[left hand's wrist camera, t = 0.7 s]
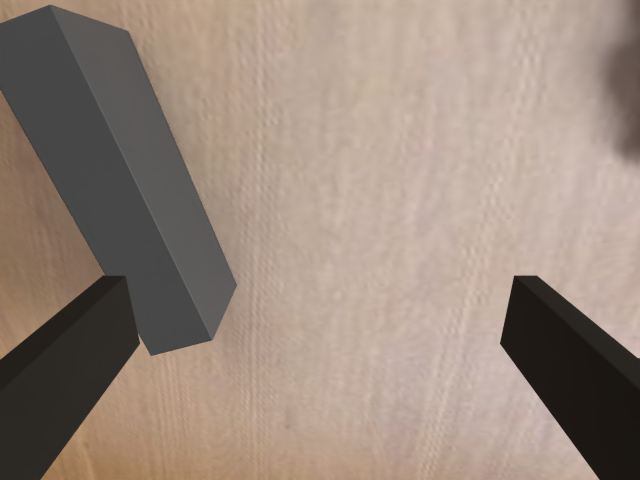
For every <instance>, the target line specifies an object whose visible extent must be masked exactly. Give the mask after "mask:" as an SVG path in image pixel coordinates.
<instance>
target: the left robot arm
mask: <svg viewBox="0 0 640 480" xmlns="http://www.w3.org/2000/svg"><path fill="white" fill-rule="evenodd" d="M139 344H140V341H139V337H138V332H137V327H136V322H135V318H134V313H133V308H132V303H131V298H130V294H129V289H128V284H127V279H126V276H102V277H101V278H100V279H98V280H97V281H96V282H95V283H94V284H92V285H91V286H90V287H89V288H87V289H86V290H85V291H84V292H83V293H81V294H80V295H79V296H78V297H76V298H75V299H74V300H73V301H72V302H70V303H69V304H68V305H67V306H65V307H64V308H63V309H62V310H61V311H59V312H58V313H57V314H56V315H54V316H53V317H52V318H51V319H50V320H48V321H47V322H46V323H45V324H43V325H42V326H41V327H40V328H39V329H37V330H36V331H35V332H34V333H33V334H31V335H30V336H29V337H28V338H26V339H25V340H24V341H23V342H22V343H20V344H19V345H18V346H17V347H15V348H14V349H13V350H12V351H11V352H9V353H8V354H7V355H6V356H4V357H3V358H2V359H1V360H0V480H40V479H41V478H42V477H43V475H44V474H45V473H46V471H47V470H48V469H49V467H50V466H51V464H52V463H53V462H54V460H55V459H56V458H57V456H58V455H59V454H60V452H61V451H62V449H63V448H64V447H65V445H66V444H67V443H68V441H69V440H70V439H71V437H72V436H73V434H74V433H75V432H76V430H77V429H78V428H79V426H80V425H81V423H82V422H83V421H84V419H85V418H86V417H87V415H88V414H89V413H90V411H91V410H92V408H93V407H94V406H95V404H96V403H97V402H98V400H99V399H100V398H101V396H102V395H103V393H104V392H105V391H106V389H107V388H108V387H109V385H110V384H111V383H112V381H113V380H114V378H115V377H116V376H117V374H118V373H119V372H120V370H121V369H122V368H123V366H124V365H125V363H126V362H127V361H128V359H129V358H130V357H131V355H132V354H133V353H134V351H135V350H136V348H137V347H138V346H139ZM500 344H501V346H502V347H503V348H504V350H505V351H506V353H507V354H508V355H509V357H510V358H511V359H512V361H513V362H514V363H515V365H516V366H517V368H518V369H519V370H520V372H521V373H522V374H523V376H524V377H525V378H526V380H527V381H528V383H529V384H530V385H531V387H532V388H533V389H534V391H535V392H536V393H537V395H538V396H539V398H540V399H541V400H542V402H543V403H544V404H545V406H546V407H547V408H548V410H549V411H550V413H551V414H552V415H553V417H554V418H555V419H556V421H557V422H558V423H559V425H560V426H561V428H562V429H563V430H564V432H565V433H566V434H567V436H568V437H569V439H570V440H571V441H572V443H573V444H574V445H575V447H576V448H577V449H578V451H579V452H580V454H581V455H582V456H583V458H584V459H585V460H586V462H587V463H588V464H589V466H590V467H591V469H592V470H593V471H594V473H595V474H596V475H597V477H598V478H599V479H600V480H640V358H637V357H636V356H634V355H633V354H632V353H631V352H629V351H628V350H627V349H626V348H625V347H623V346H622V345H621V344H620V343H618V342H617V341H616V340H615V339H614V338H612V337H611V336H610V335H609V334H607V333H606V332H605V331H604V330H603V329H601V328H600V327H599V326H598V325H597V324H595V323H594V322H593V321H592V320H590V319H589V318H588V317H587V316H586V315H584V314H583V313H582V312H581V311H579V310H578V309H577V308H576V307H575V306H573V305H572V304H571V303H570V302H568V301H567V300H566V299H565V298H564V297H562V296H561V295H560V294H559V293H557V292H556V291H555V290H554V289H553V288H551V287H550V286H549V285H548V284H546V283H545V282H544V281H543V280H542V279H540V278H539V277H538V276H514V279H513V284H512V289H511V294H510V298H509V303H508V308H507V313H506V318H505V322H504V327H503V332H502V337H501V341H500Z"/></svg>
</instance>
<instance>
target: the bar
mask: <svg viewBox="0 0 640 480" xmlns="http://www.w3.org/2000/svg"><path fill="white" fill-rule="evenodd" d="M0 90H1V92H2V93H3V95H4V97H5V99H6V100H7V102H8V104H9V106H10V107H11V109H12V111H13V113H14V115H15V116H16V118H17V120H18V122H19V123H20V125H21V127H22V129H23V130H24V132H25V134H26V136H27V137H28V139H29V141H30V143H31V145H32V146H33V148H34V150H35V152H36V153H37V155H38V157H39V159H40V160H41V162H42V164H43V166H44V168H45V169H46V171H47V173H48V175H49V176H50V178H51V180H52V182H53V183H54V185H55V187H56V189H57V191H58V192H59V194H60V196H61V198H62V199H63V201H64V203H65V205H66V206H67V208H68V210H69V212H70V213H71V215H72V217H73V219H74V221H75V222H76V224H77V226H78V228H79V229H80V231H81V233H82V235H83V236H84V238H85V240H86V242H87V244H88V245H89V247H90V249H91V251H92V252H93V254H94V256H95V258H96V259H97V261H98V263H99V265H100V267H101V268H102V270H103V272H104V274H105V275H106V276H126V279H127V284H128V289H129V294H130V298H131V303H132V308H133V313H134V318H135V322H136V327H137V332H138V334H139V335H140V337H141V339H142V341H143V343H144V344H145V346H146V348H147V350H148V351H149V353H150V355H151V356H153V355H157V354H160V353H164V352H168V351H172V350H176V349H180V348H184V347H188V346H192V345H196V344H199V343H203V342H207V341H211V340H213V338H214V336H215V333H216V331H217V329H218V327H219V324H220V322H221V320H222V318H223V315H224V313H225V311H226V309H227V306H228V304H229V302H230V300H231V297H232V295H233V293H234V291H235V288H236V286H237V285H236V282H235V280H234V278H233V275H232V273H231V271H230V268H229V266H228V264H227V261H226V259H225V257H224V254H223V252H222V249H221V247H220V245H219V242H218V240H217V238H216V235H215V233H214V231H213V228H212V226H211V224H210V221H209V219H208V217H207V214H206V212H205V210H204V207H203V205H202V203H201V200H200V198H199V196H198V193H197V191H196V189H195V186H194V184H193V182H192V179H191V177H190V175H189V172H188V170H187V168H186V165H185V163H184V161H183V158H182V156H181V154H180V151H179V149H178V147H177V144H176V142H175V140H174V137H173V135H172V133H171V130H170V128H169V126H168V123H167V121H166V119H165V116H164V114H163V112H162V109H161V107H160V105H159V102H158V100H157V98H156V95H155V93H154V90H153V88H152V86H151V83H150V81H149V79H148V76H147V74H146V72H145V69H144V67H143V65H142V62H141V60H140V58H139V55H138V53H137V51H136V48H135V46H134V44H133V41H132V39H131V37H130V34H129V32H128V31H126V30H123V29H120V28H117V27H114V26H112V25H109V24H106V23H103V22H100V21H97V20H94V19H91V18H88V17H85V16H82V15H79V14H76V13H73V12H70V11H68V10H65V9H62V8H59V7H56V6H53V5H48V6H45V7H43V8H40V9H37V10H35V11H32V12H29V13H27V14H24V15H21V16H19V17H16V18H13V19H11V20H8V21H6V22H3V23H0Z"/></svg>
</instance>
